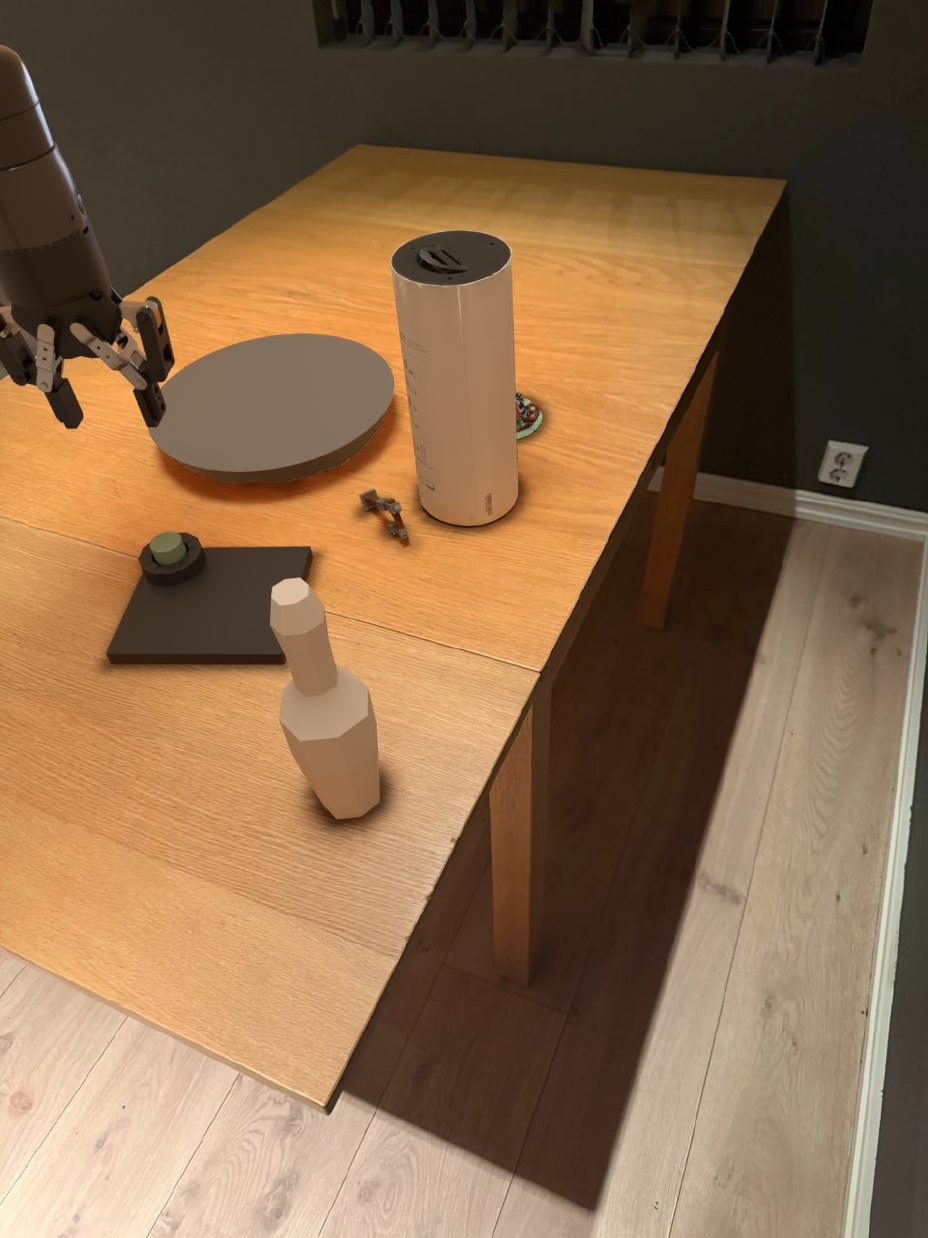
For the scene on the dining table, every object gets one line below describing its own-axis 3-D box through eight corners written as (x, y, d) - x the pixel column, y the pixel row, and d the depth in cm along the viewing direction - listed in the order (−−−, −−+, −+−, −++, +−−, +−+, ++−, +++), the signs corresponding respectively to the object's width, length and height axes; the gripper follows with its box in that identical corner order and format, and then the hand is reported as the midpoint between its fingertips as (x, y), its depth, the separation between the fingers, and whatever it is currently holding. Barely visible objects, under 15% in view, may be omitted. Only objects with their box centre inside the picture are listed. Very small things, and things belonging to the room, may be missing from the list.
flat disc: (110, 482, 98) (95, 449, 95) (237, 354, 116) (228, 322, 113) (335, 525, 90) (327, 490, 87) (434, 380, 108) (431, 347, 105)
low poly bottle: (300, 777, 69) (225, 575, 54) (376, 747, 71) (325, 542, 55) (324, 842, 65) (250, 645, 49) (404, 809, 67) (357, 607, 51)
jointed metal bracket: (402, 546, 86) (387, 504, 84) (372, 532, 93) (358, 492, 91) (418, 539, 86) (404, 496, 85) (387, 525, 93) (373, 486, 91)
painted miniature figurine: (498, 370, 104) (511, 363, 96) (540, 414, 105) (556, 411, 98) (451, 419, 104) (460, 417, 97) (493, 462, 106) (506, 463, 98)
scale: (111, 663, 79) (98, 641, 77) (159, 554, 89) (149, 532, 87) (284, 664, 78) (276, 641, 76) (314, 553, 88) (308, 530, 85)
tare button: (151, 566, 84) (145, 552, 83) (160, 544, 86) (154, 531, 85) (181, 565, 84) (176, 552, 82) (190, 544, 86) (185, 530, 85)
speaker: (533, 515, 89) (529, 262, 70) (435, 540, 88) (403, 288, 69) (501, 456, 96) (488, 213, 77) (409, 478, 95) (374, 236, 76)
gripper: (-91, 249, 60) (17, 451, 72) (110, 240, 59) (186, 448, 71) (-41, 204, 65) (52, 400, 77) (146, 195, 64) (210, 395, 76)
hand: (116, 422), depth 74 cm, fingers open, 6 cm apart
